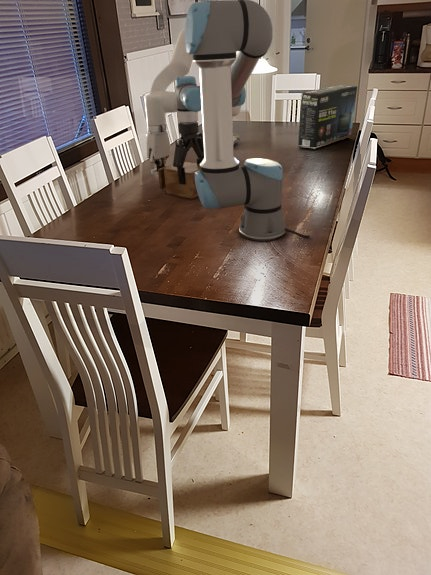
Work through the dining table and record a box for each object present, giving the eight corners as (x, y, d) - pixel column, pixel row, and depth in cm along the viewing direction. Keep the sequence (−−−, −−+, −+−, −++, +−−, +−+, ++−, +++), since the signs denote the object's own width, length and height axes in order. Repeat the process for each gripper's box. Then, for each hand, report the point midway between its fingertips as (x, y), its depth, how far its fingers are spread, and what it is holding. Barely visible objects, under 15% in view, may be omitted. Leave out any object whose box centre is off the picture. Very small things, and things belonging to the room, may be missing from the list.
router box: (314, 151, 231) (318, 94, 217) (296, 148, 237) (299, 92, 224) (352, 138, 251) (358, 85, 238) (335, 135, 258) (340, 83, 245)
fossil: (229, 142, 236) (210, 124, 240) (219, 159, 243) (200, 141, 246) (247, 141, 250) (228, 123, 253) (236, 157, 257) (218, 140, 260)
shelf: (149, 186, 190) (146, 167, 186) (164, 180, 197) (162, 161, 193) (182, 193, 181) (181, 173, 177) (197, 186, 188) (196, 166, 184)
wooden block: (166, 193, 186) (163, 168, 180) (183, 185, 193) (181, 161, 188) (192, 198, 179) (190, 173, 173) (208, 190, 186) (207, 165, 181)
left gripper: (162, 124, 187) (166, 168, 197) (137, 131, 177) (142, 177, 186) (176, 125, 184) (179, 170, 193) (151, 133, 173) (156, 180, 183)
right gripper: (199, 115, 180) (201, 170, 192) (159, 127, 164) (165, 186, 176) (214, 117, 177) (216, 172, 188) (175, 129, 160) (180, 189, 172)
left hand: (161, 174), depth 190 cm, fingers closed
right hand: (191, 179), depth 182 cm, fingers closed on wooden block, 11 cm apart
